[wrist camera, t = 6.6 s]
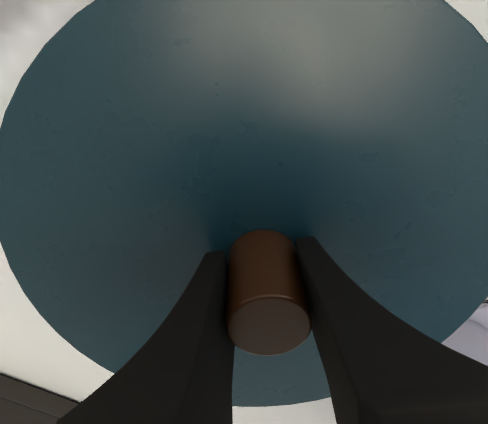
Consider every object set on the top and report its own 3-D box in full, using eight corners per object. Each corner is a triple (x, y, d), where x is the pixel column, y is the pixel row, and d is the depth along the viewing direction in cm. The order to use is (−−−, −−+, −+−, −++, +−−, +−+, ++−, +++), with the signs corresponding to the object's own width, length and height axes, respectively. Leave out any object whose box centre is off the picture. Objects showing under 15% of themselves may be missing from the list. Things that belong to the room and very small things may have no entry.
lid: (472, 361, 18) (534, 458, 14) (115, 405, 19) (86, 504, 15) (576, -123, 9) (827, -208, 5) (-112, 23, 10) (-316, 41, 6)
